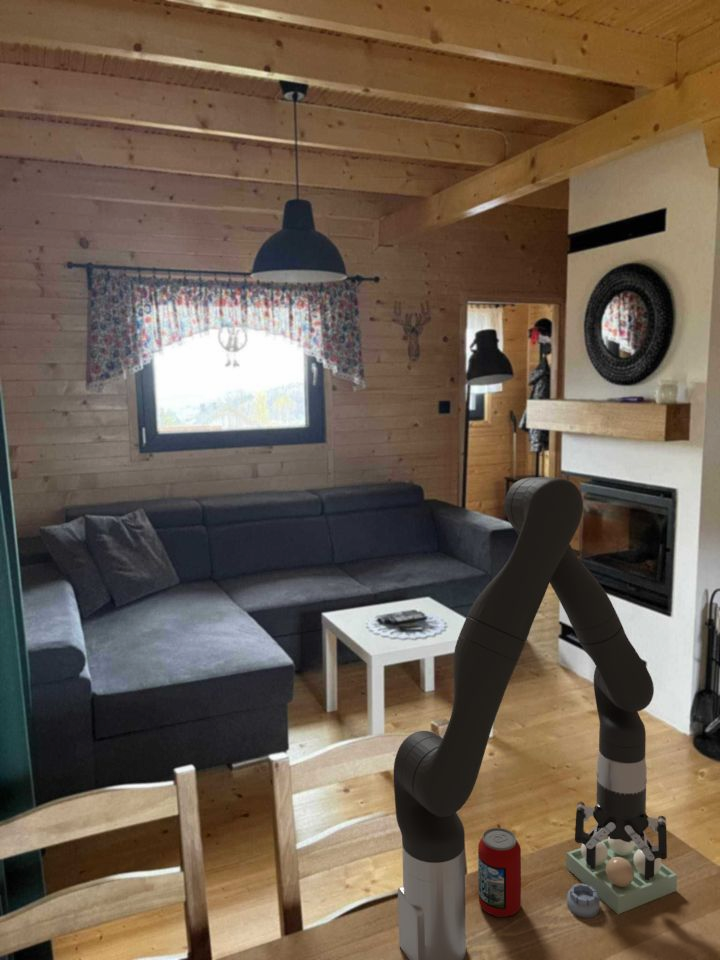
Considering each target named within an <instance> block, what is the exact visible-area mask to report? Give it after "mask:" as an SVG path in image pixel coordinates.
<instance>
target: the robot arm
mask: <svg viewBox="0 0 720 960" xmlns="http://www.w3.org/2000/svg"><path fill="white" fill-rule="evenodd" d="M504 511H505V514H506V518H507V520H508V522H509V524H510V525H511V526H512V528H513V529H514V531H515V532H516V534H517V535H518V538H517V540H516V542H515V545H514V548H513V550H512V552H511V554H510V556H509V558H508V560H507V561H506V563H505V564H504V566H503V567H502V568H501V570H500V571H499V572H497V574H496V575H495V576H494V578H492V580H491V581H490V582H489V583H488V584H487V585H486V586H485V587H484V589H483V590H482V591H481V592H480V593H479V595H478V596H477V598H476V599H475V600H474V602H473V604H471V607H470V609H469V611H468V613H467V616H466V618H465V620H464V623H463V624H462V627H461V629H460V633H459V635H458V637H457V641H456V643H455V647H454V653H453V688H454V689H453V704H452V705H453V706H452V708H451V709H452V710H451V711H452V712H451V715H450V719H449V722H448V724H447V727H446V729H445V732H444V734H443V736H442V737H441V736H440V735H439V734H437V733H435V732H432V731H430V730H419V731H415V732H413V733H411V734H410V735H408V736H407V737H406V738H405V739H404V740H403V741H402V743H400V746H399V747H398V749H397V752H396V755H395V759H394V763H393V790H394V791H393V792H394V803H395V804H394V805H395V806H394V807H395V817H396V822H397V825H398V828H399V831H400V834H401V845H402V851H401V852H402V886H400V887H398V889H397V902H398V903H397V906H398V908H397V909H398V910H397V911H398V915H397V916H398V944H399V947H400V949H401V950H402V951H403V953H404V954H405V956H406V958H407V959H408V960H464V958H465V957H466V953H467V948H466V947H467V945H466V943H467V942H466V941H467V940H466V939H467V935H466V928H467V927H466V843H465V841H466V840H465V839H466V837H465V836H466V835H465V827H464V825H463V822H462V820H461V819H460V816H459V815H458V813H457V812H458V811H460V810H461V809H462V808H463V806H465V804H466V803H467V801H468V800H469V797H470V796H471V794H472V792H473V790H474V787H475V785H476V783H477V780H478V776H479V773H480V771H481V767H482V763H483V759H484V756H485V754H486V753H485V752H486V749H487V745H488V742H489V739H490V735H491V732H492V729H493V727H494V723H495V721H496V717H497V715H498V712H499V710H500V707H501V703H502V701H503V699H504V696H505V693H506V690H507V688H508V685H509V683H510V680H511V678H512V677H513V673H514V671H515V670H516V667H517V664H518V662H519V660H520V657H521V655H522V652H523V650H524V648H525V645H526V642H527V641H528V639H529V638H528V636H529V634H530V632H531V628H532V626H533V624H534V620H535V618H536V616H537V614H538V611H539V609H540V607H541V604H542V602H543V599H544V598H545V595H546V592H547V590H548V588H549V584H550V586H551V588H552V590H553V591H554V593H555V595H556V596H557V598H558V601H559V602H560V605H561V606H562V608H563V611H564V612H565V614H566V617H567V618H568V621H569V622H570V625H571V627H572V629H573V631H574V633H575V635H576V637H577V639H578V642H579V644H580V645H581V647H582V648H583V650H584V652H585V653H586V654H587V655H588V657H589V658H590V659H591V660H592V662H593V663H594V665H595V668H594V675H593V690H594V699H595V704H596V705H595V706H596V711H597V715H598V720H599V730H598V731H599V734H598V736H599V737H598V755H597V761H596V773H595V774H596V803H595V806H594V807H591V806H587V805H585V803H584V802H582V801H579V802H578V803H577V805H576V806H577V807H576V811H575V812H576V813H575V826H574V830H575V831H574V841H575V843H576V844H581V845H582V844H584V845H585V846H586V862H587V865H591V867H590V869H593V870H595V864H596V844H597V843H598V842H601V841H602V840H605V839H606V837H610V839H615V840H616V839H620V840H623V841H625V842H630V841H634V843H635V844H636V845H637V847H638V848H639V849H640V850H641V851H642V852H643V853H644V855H645V880H648V881H649V877H651V878H653V876H654V861H655V859H657V858H660V859H661V860H666V859H667V857H668V851H667V850H668V849H667V848H668V847H667V846H668V845H667V842H668V841H667V818H666V816H664V815H659V816H658V817H657V818H655V817H649V816H648V815H647V812H646V809H647V784H648V783H647V782H648V779H647V771H648V770H647V761H646V745H647V744H646V741H647V740H646V739H647V737H646V727H645V724H644V722H643V719H642V718H641V717H640V714H639V712H641V711H643V710H645V709H646V708H647V707H648V706H649V705H650V704H651V702H652V700H653V698H654V693H655V687H654V682H653V679H652V676H651V674H650V672H649V670H648V668H647V667H646V665H645V663H644V661H643V659H642V658H641V656H640V654H638V652H637V650H636V648H635V647H634V646H633V644H632V643H631V641H630V639H629V638H628V635H627V634H626V632H625V629H624V627H623V624H622V622H621V620H620V618H619V615H618V613H617V611H616V609H615V607H614V605H613V603H612V601H611V599H610V597H609V595H608V594H607V592H606V591H605V589H604V588H603V587H602V585H601V583H600V582H598V580H597V579H596V577H595V576H594V575H592V574H593V573H591V571H589V569H588V568H587V567H586V565H585V564H584V563H583V561H582V560H581V559H580V557H578V555H577V553H576V552H575V550H574V549H573V547H572V545H571V543H572V540H573V538H574V536H575V534H576V532H577V531H578V528H579V526H580V524H581V521H582V518H583V517H582V516H583V512H584V501H583V496H582V494H581V492H580V490H579V487H578V486H576V484H575V483H574V482H572V481H571V480H568V479H565V478H561V477H547V476H546V477H544V476H543V477H542V476H541V477H540V476H539V477H537V476H535V477H534V476H533V477H526V478H521V479H519V480H517V481H515V482H514V483H513V484H512V485H511V487H509V488H508V491H507V493H506V495H505V499H504ZM590 817H593V818H594V820H595V821H596V824H595V826H594V827H593V828H592V829H591V831H590V832H589V833H587V832H586V831H584V830H585V829H584V827H585V822H587V821H589V819H590ZM648 827H650V828H651V829H652V832H653V833H654V834H656V835H657V837H658V839H657V840H658V845H653V844H652V842H651V841H650V839H649V838H648V836H647V833H646V832H645V831H646V830H647V829H648Z"/></svg>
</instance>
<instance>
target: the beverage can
mask: <svg viewBox="0 0 720 960" xmlns="http://www.w3.org/2000/svg"><path fill="white" fill-rule="evenodd" d="M477 847H478V851H477V852H478V853H477V854H478V855H477V858H478V859H477V861H478V866H477V867H478V868H477V869H478V871H477V873H478V876H477V877H478V902H479V906H480V907H481V908H482V909H483V910H484V911H485V912H486V913H488V914H490V915H493V916H495V917H501V918H503V917H508V916H512V915H514V914H516V913H517V912H518V911H519V910H520V909H521V903H522V902H521V901H522V900H521V899H522V896H521V895H522V894H521V893H522V874H521V873H522V855H521V854H522V851H521V845H520V843H519V842H518V840H517V836H516V835H515V834H514V833H513V831H510V829H506V828H502V827H492V828H488V829H487V830H485V831H484V832H483V833H482V837H481V838H480V840H479V842H478V845H477Z"/></svg>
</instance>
